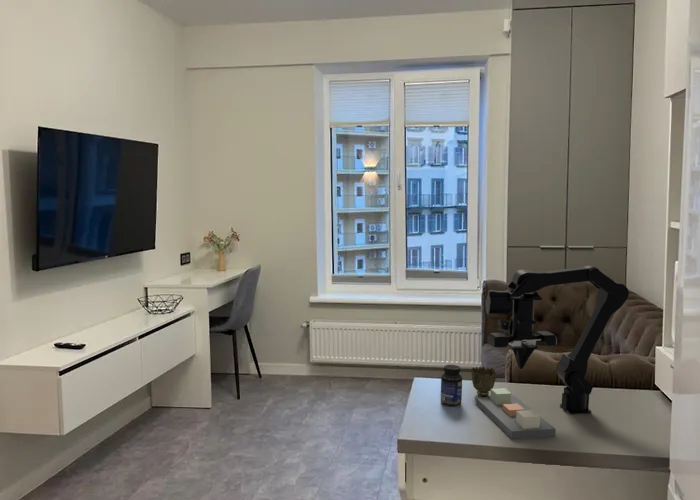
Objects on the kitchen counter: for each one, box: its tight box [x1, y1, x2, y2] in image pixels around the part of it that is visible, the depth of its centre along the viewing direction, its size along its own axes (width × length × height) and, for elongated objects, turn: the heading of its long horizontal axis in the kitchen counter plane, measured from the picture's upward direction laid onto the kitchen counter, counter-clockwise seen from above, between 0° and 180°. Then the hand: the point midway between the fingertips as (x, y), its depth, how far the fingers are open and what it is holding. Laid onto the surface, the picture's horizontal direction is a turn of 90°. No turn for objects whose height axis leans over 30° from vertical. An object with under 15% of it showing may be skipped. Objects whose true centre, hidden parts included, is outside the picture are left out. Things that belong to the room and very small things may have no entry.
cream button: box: [516, 409, 541, 429], centre depth 159 cm, size 4×4×3 cm
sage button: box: [489, 387, 512, 405], centre depth 175 cm, size 4×4×3 cm
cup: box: [470, 366, 497, 398], centre depth 185 cm, size 8×7×8 cm
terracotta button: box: [502, 403, 525, 416], centre depth 167 cm, size 4×4×3 cm
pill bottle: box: [440, 364, 463, 408], centre depth 178 cm, size 6×6×11 cm
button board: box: [475, 395, 556, 440], centre depth 167 cm, size 12×24×2 cm, turn 10°
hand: (520, 368), depth 174 cm, fingers closed
